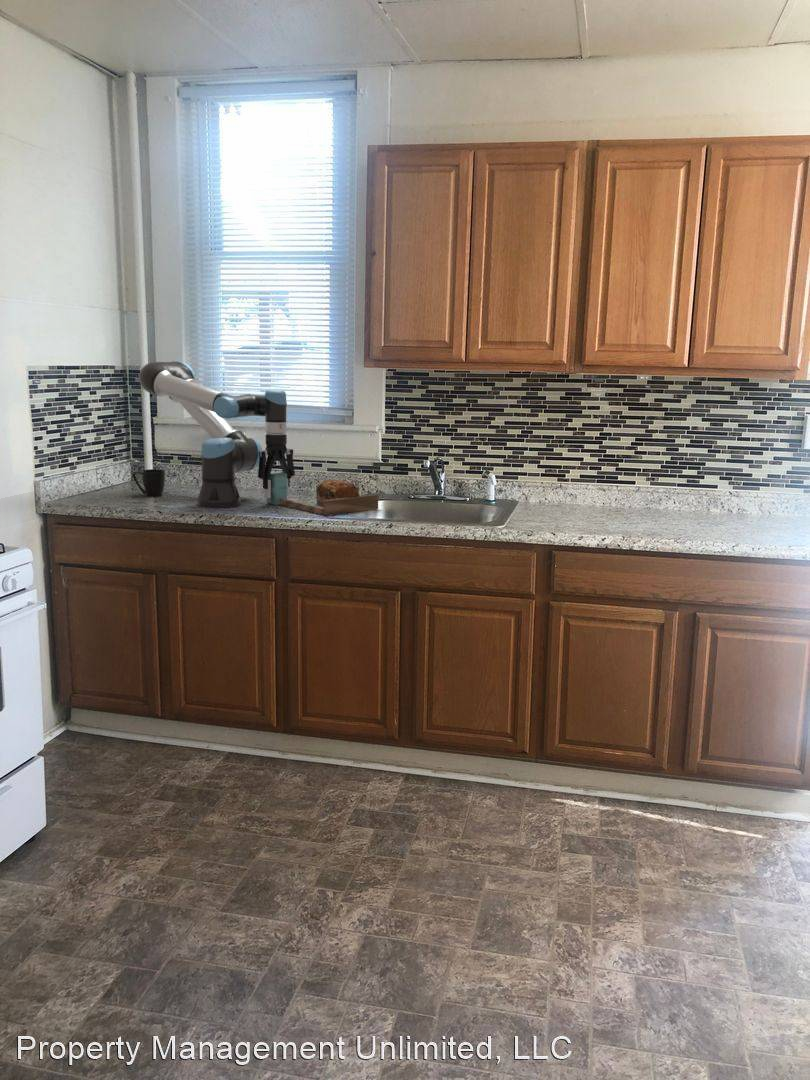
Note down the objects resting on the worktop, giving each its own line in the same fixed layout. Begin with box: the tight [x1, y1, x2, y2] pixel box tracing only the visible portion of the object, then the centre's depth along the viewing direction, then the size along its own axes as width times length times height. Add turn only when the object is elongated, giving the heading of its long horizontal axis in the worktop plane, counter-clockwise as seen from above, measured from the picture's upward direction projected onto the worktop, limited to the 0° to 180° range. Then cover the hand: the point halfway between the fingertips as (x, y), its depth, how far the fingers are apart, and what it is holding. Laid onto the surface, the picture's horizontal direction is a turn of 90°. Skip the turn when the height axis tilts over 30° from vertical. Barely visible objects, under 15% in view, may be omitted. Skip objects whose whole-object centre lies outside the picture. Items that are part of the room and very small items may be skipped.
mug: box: [132, 468, 166, 498], centre depth 345 cm, size 8×12×10 cm
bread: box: [315, 479, 360, 507], centre depth 328 cm, size 19×11×10 cm, turn 23°
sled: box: [265, 471, 379, 516], centre depth 330 cm, size 33×26×11 cm
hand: (276, 496), depth 334 cm, fingers open, 7 cm apart
